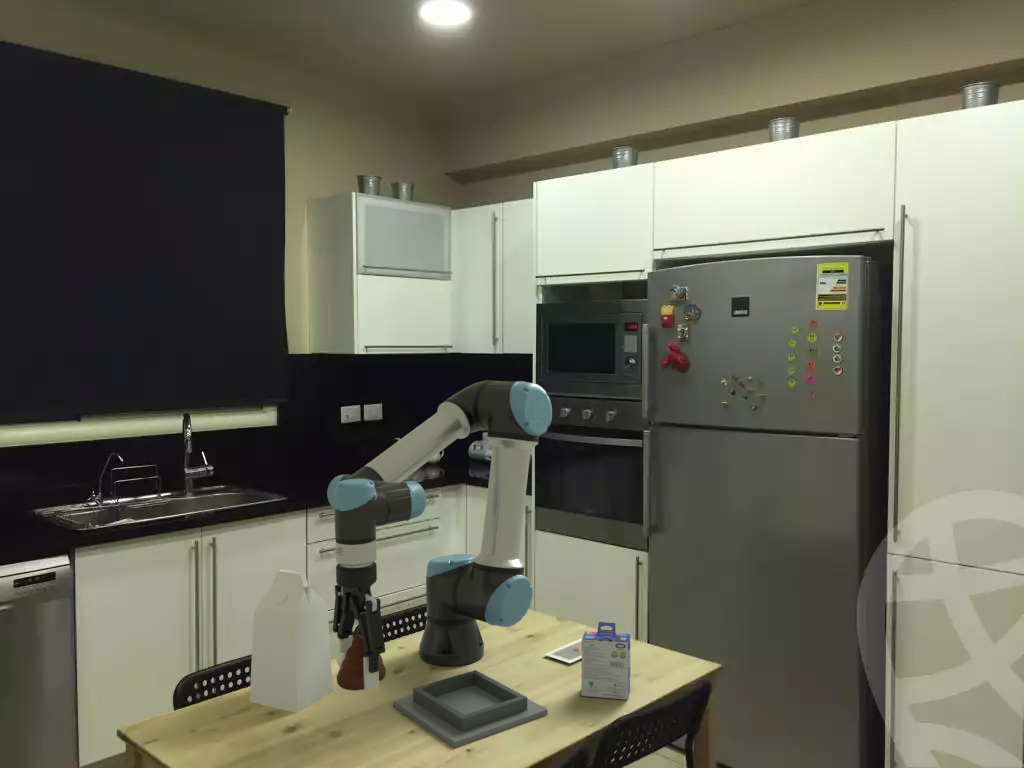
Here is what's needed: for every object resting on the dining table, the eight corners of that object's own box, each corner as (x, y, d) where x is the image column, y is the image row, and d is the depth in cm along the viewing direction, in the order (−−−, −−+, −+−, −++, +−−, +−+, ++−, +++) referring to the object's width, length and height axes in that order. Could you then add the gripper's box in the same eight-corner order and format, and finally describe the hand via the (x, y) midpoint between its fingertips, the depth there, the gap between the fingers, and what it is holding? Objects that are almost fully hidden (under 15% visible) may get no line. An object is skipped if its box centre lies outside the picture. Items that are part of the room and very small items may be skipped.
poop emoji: (359, 696, 151) (358, 645, 150) (325, 685, 156) (324, 637, 155) (395, 676, 159) (394, 628, 159) (362, 667, 164) (361, 620, 163)
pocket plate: (393, 706, 167) (392, 688, 166) (481, 678, 180) (481, 663, 180) (454, 747, 149) (454, 728, 149) (547, 714, 163) (547, 696, 163)
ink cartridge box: (630, 690, 175) (631, 622, 174) (629, 701, 169) (629, 631, 168) (584, 686, 177) (584, 619, 176) (580, 697, 171) (581, 627, 170)
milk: (332, 690, 174) (331, 568, 173) (296, 712, 164) (295, 582, 162) (287, 681, 179) (286, 561, 178) (249, 701, 169) (248, 575, 167)
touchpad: (543, 659, 193) (543, 649, 193) (582, 642, 204) (583, 633, 204) (570, 667, 188) (570, 658, 188) (609, 650, 199) (609, 641, 199)
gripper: (312, 554, 162) (315, 667, 163) (366, 579, 145) (369, 705, 146) (347, 547, 167) (350, 657, 168) (403, 571, 150) (405, 693, 151)
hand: (359, 679), depth 157 cm, fingers closed on poop emoji, 9 cm apart
